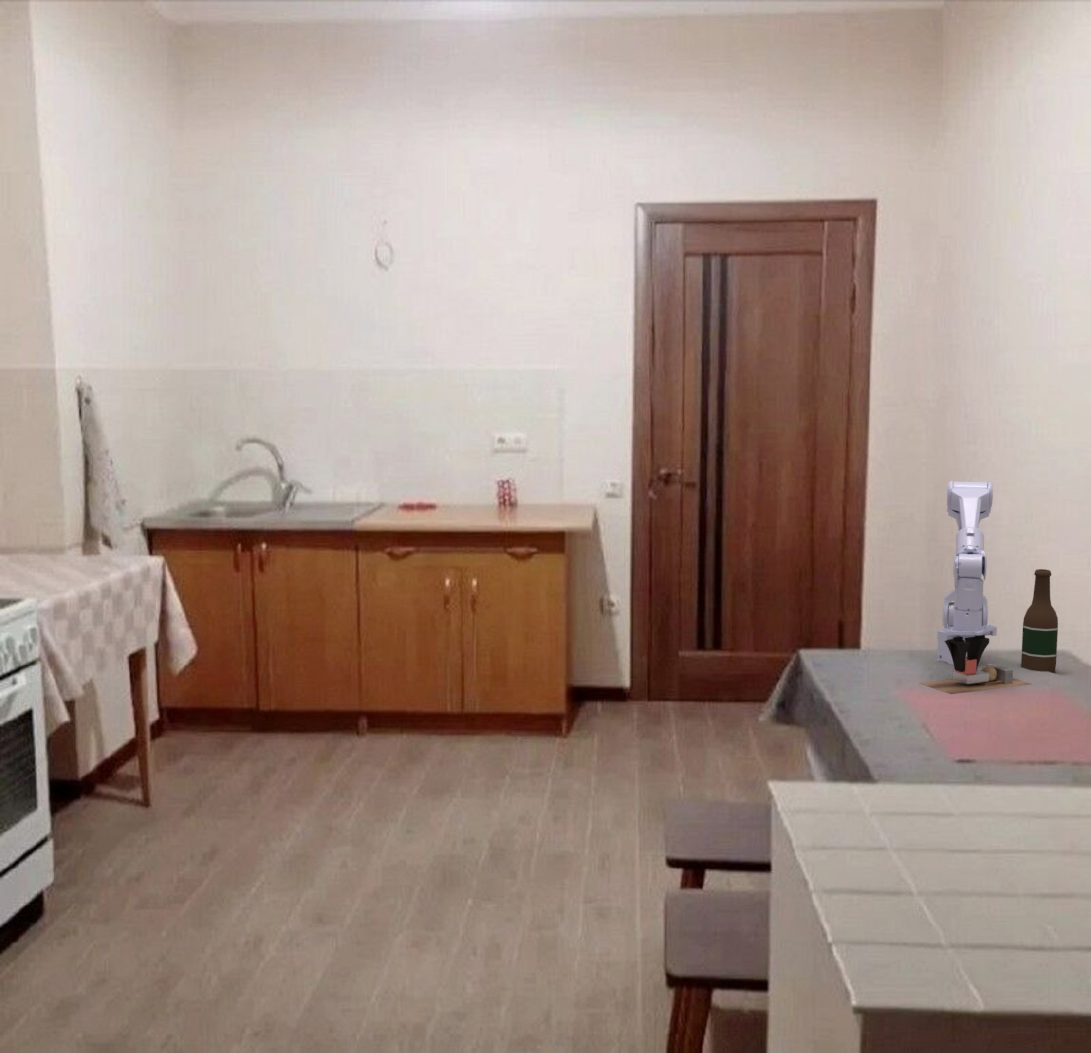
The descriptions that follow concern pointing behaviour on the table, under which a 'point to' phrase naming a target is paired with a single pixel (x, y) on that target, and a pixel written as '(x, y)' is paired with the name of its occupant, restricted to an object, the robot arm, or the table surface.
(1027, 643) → the beer bottle
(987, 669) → the walnut
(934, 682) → the wooden puzzle board
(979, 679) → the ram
